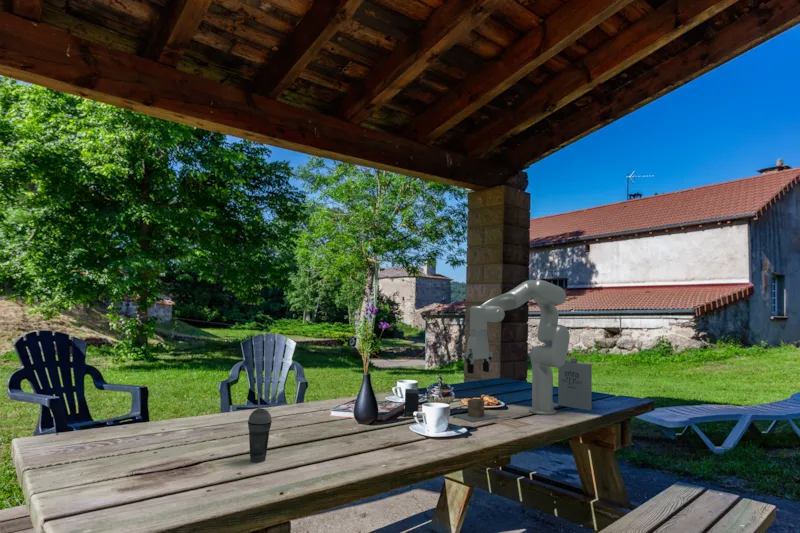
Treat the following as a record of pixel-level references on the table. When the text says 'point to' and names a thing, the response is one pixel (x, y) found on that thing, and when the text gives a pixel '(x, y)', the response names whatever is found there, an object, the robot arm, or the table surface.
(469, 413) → the walnut block
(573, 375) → the flask
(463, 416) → the slate board
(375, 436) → the table surface
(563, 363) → the robot arm
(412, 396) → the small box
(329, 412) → the table surface
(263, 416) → the beverage cup
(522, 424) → the tile
